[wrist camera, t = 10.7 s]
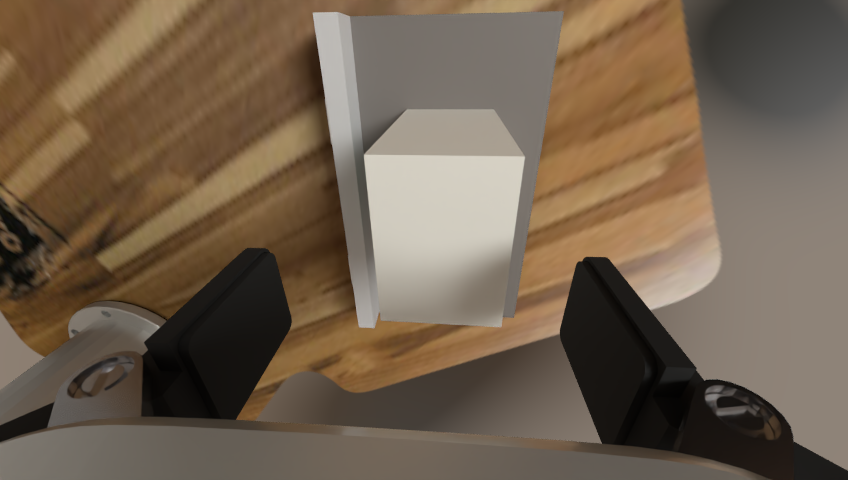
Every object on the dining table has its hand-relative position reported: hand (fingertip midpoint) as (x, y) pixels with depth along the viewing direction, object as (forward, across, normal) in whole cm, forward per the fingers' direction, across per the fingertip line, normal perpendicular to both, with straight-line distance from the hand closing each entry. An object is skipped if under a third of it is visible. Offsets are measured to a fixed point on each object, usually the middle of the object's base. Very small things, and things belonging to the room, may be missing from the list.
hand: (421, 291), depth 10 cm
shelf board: (+14, 0, +2) cm, 14 cm away
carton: (+12, -1, 0) cm, 12 cm away
